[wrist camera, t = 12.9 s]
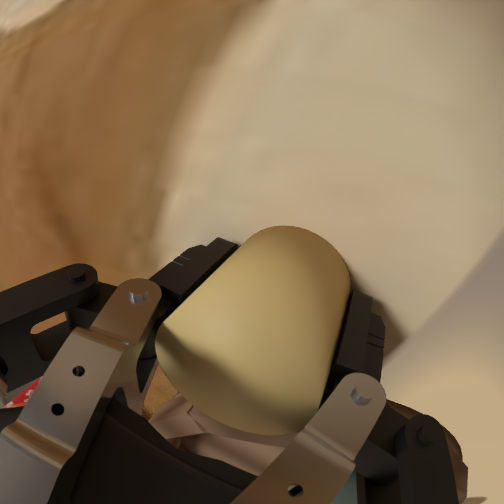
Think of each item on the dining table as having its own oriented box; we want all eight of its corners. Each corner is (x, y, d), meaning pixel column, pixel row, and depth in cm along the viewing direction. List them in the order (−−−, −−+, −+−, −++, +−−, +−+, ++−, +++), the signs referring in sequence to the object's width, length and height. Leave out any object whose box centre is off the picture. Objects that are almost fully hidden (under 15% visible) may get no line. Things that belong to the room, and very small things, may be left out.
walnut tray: (169, 308, 14) (131, 345, 12) (528, 433, 9) (533, 474, 6) (173, 456, 26) (158, 476, 23) (362, 525, 20) (355, 547, 18)
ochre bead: (246, 208, 10) (153, 279, 6) (369, 253, 9) (351, 365, 5) (227, 304, 13) (157, 388, 9) (325, 345, 12) (287, 451, 8)
